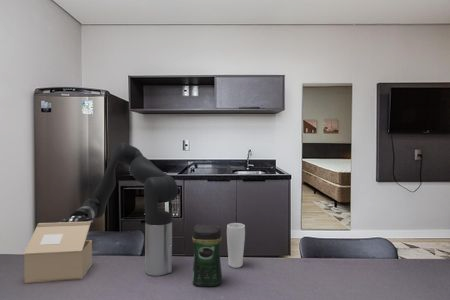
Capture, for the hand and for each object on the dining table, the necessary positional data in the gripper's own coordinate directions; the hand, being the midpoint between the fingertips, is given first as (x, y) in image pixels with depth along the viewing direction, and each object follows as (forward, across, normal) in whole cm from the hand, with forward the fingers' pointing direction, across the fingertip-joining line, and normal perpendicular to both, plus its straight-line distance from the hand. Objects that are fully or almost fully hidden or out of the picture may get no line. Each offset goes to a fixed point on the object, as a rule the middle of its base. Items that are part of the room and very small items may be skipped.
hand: (67, 227), depth 104 cm
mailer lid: (+7, 0, +1) cm, 7 cm away
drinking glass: (+9, +61, +14) cm, 63 cm away
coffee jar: (+20, +49, +14) cm, 55 cm away
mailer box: (+6, 0, +14) cm, 15 cm away
